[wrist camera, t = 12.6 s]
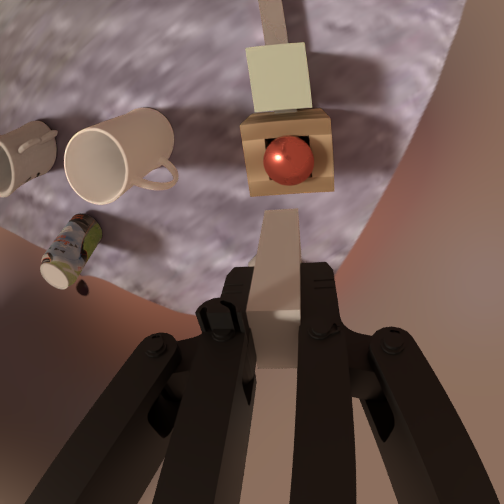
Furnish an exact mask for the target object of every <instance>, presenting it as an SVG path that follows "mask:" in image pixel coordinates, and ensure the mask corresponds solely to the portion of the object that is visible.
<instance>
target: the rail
mask: <svg viewBox="0 0 504 504" xmlns="http://www.w3.org/2000/svg"><path fill="white" fill-rule="evenodd" d="M258 2H259V8H260V14H261V21H262V27H263V33H264V40H265V46H267V45H276V44H288V38H287V31H286V25H285V19H284V13H283V7H282V1H281V0H258ZM274 111H275V114H276V113H287V112H297V109H284V110H274Z"/></svg>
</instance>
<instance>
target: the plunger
mask: <svg viewBox="0 0 504 504" xmlns="http://www.w3.org/2000/svg"><path fill="white" fill-rule="evenodd" d="M263 164H264V168H265V171H266V173H267V174H268V176H269V177H270V178H271V179H272V180H273V181H275V182H277V183H279V184H281V185H286V186H292V185H297V184H300V183H302V182H303V181H305V180H306V179H307V178H308V177H309V176H310V174H311V173H312V171H313V167H314V157H313V153H312V150H311V148H310V147H309V145H308V144H307V143H306V142H305V141H304V140H302V139H301V137H300V136H291V135H286V136H281V137H278V138H276V139H274V140H273V141H272V142H271V143H270V144H269V145H268V147H267V149H266V151H265V154H264V158H263Z"/></svg>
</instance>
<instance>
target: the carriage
mask: <svg viewBox="0 0 504 504" xmlns="http://www.w3.org/2000/svg"><path fill="white" fill-rule="evenodd" d="M245 49H246V56H247V62H248V69H249V76H250V82H251V89H252V96H253V103H254V110H255V112H263V111H273V110H284V109H297V108H312V100H311V91H310V82H309V74H308V66H307V58H306V51H305V43H304V42H302V43H288V44H276V45H267V46H258V47H250V48H245Z"/></svg>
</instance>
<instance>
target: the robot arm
mask: <svg viewBox="0 0 504 504" xmlns="http://www.w3.org/2000/svg"><path fill="white" fill-rule="evenodd" d="M195 313H196V316H197V319H198V322H199V325H200V328H201V331H202V334H201V335H199V336H196V337H194V338H189V339H185V340H181V341H176V340H175V338H174V337H173V336H172V335H170V334H168V333H156V334H152V335H150V336H148V337H146V338H145V339H144V340H143V341H142V342H141V343H140V344H139V345H138V346H137V348H136V349H135V350H134V352H133V353H132V354H131V356H130V357H129V358H128V359H127V361H126V362H125V364H124V365H123V366H122V367H121V369H120V370H119V371H118V373H117V374H116V375H115V377H114V378H113V379H112V381H111V382H110V383H109V385H108V386H107V387H106V389H105V390H104V392H103V393H102V394H101V395H100V397H99V398H98V400H97V401H96V402H95V404H94V405H93V407H92V408H91V409H90V410H89V412H88V413H87V415H86V416H85V417H84V419H83V420H82V421H81V423H80V424H79V426H78V427H77V428H76V430H75V431H74V433H73V434H72V435H71V437H70V438H69V440H68V441H67V442H66V444H65V445H64V447H63V448H62V449H61V451H60V452H59V454H58V455H57V457H56V458H55V460H54V461H53V462H52V464H51V465H50V467H49V468H48V470H47V471H46V473H45V474H44V476H43V477H42V478H41V480H40V482H39V483H38V485H37V486H36V487H35V489H34V490H33V492H32V493H31V495H30V496H29V498H28V499H27V501H26V502H25V504H137V503H138V501H139V500H140V498H141V497H142V495H143V493H144V492H145V490H146V488H147V487H148V485H149V483H150V482H151V480H152V478H153V476H154V475H155V473H156V471H157V470H158V468H159V466H160V464H161V462H162V461H163V459H164V458H165V459H164V462H163V467H162V469H161V473H160V477H159V480H158V484H157V488H156V491H155V495H154V499H153V502H152V504H239V502H240V495H241V489H242V482H243V476H244V469H245V462H246V455H247V448H248V441H249V434H250V427H251V420H252V412H253V405H254V397H255V390H256V375H255V367H256V362H257V366H258V368H297V395H296V417H295V437H294V453H293V468H292V479H291V492H290V503H289V504H356V460H355V438H354V422H353V408H352V397H356V398H359V399H360V402H361V404H362V407H363V409H364V412H365V414H366V417H367V420H368V422H369V425H370V427H371V430H372V432H373V435H374V438H375V440H376V443H377V446H378V448H379V451H380V454H381V456H382V459H383V462H384V464H385V467H386V470H387V472H388V476H389V478H390V481H391V484H392V487H393V490H394V492H395V495H396V498H397V501H398V504H500V503H499V500H498V498H497V495H496V493H495V490H494V488H493V486H492V483H491V481H490V479H489V477H488V474H487V472H486V470H485V468H484V466H483V463H482V461H481V459H480V457H479V455H478V453H477V451H476V449H475V447H474V445H473V443H472V441H471V439H470V437H469V435H468V433H467V431H466V429H465V427H464V425H463V423H462V421H461V419H460V417H459V416H458V414H457V412H456V410H455V408H454V406H453V404H452V403H451V401H450V399H449V397H448V395H447V394H446V392H445V390H444V388H443V387H442V385H441V383H440V382H439V380H438V378H437V376H436V375H435V373H434V371H433V369H432V368H431V366H430V365H429V363H428V361H427V360H426V358H425V356H424V355H423V353H422V351H421V350H420V348H419V347H418V345H417V343H416V342H415V340H414V339H413V337H412V336H411V335H410V334H409V333H408V332H407V331H405V330H403V329H401V328H396V327H385V328H382V329H380V330H378V331H376V332H375V333H374V334H373V335H372V336H370V335H364V334H360V333H356V332H354V331H352V330H350V329H348V328H347V327H346V326H345V325H344V324H343V323H342V321H341V318H340V314H339V307H338V299H337V293H336V287H335V281H334V273H333V269H332V268H331V267H330V266H329V265H328V263H327V262H315V263H301V246H300V231H299V217H298V209H282V210H267V211H265V213H264V219H263V224H262V229H261V235H260V240H259V245H258V251H257V256H256V261H255V266H251V267H234V268H233V269H232V270H231V271H230V273H229V274H228V275H227V277H226V280H225V283H224V287H223V290H222V294H221V297H220V298H213V299H211V300H208V301H206V302H204V303H203V304H202V305H200V306H199V307H198V309H197V311H196V312H195Z"/></svg>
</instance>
